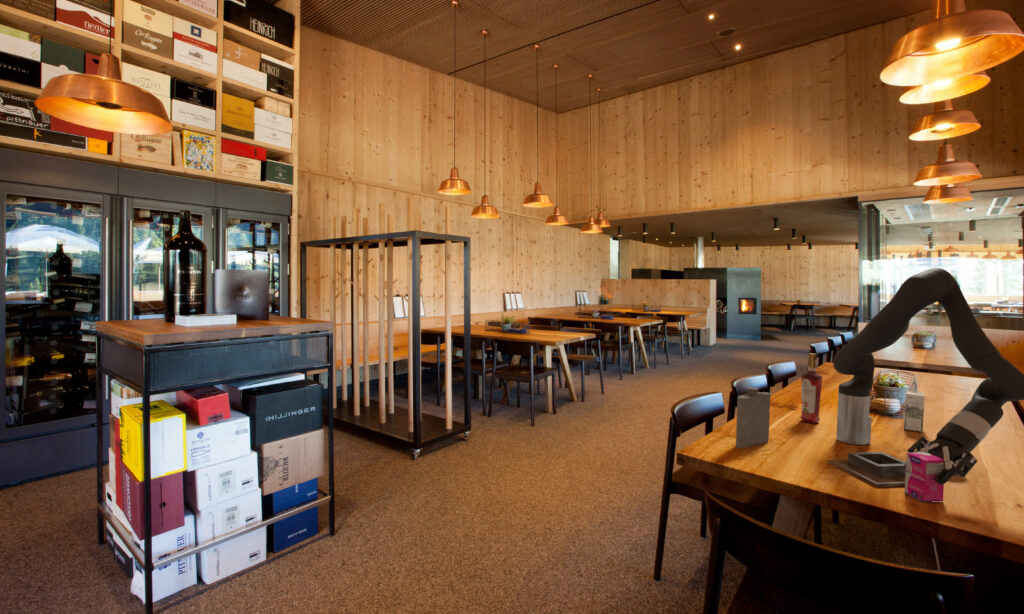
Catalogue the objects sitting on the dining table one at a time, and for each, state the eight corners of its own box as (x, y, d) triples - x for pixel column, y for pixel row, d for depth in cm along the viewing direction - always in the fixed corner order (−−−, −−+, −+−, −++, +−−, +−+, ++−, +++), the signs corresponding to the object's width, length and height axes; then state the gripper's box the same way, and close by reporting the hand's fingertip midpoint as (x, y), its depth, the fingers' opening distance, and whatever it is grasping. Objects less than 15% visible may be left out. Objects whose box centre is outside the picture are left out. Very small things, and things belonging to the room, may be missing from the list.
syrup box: (922, 429, 188) (924, 392, 187) (922, 433, 183) (924, 395, 183) (903, 426, 192) (905, 390, 191) (903, 430, 187) (905, 393, 186)
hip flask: (742, 449, 164) (744, 391, 163) (731, 445, 168) (733, 389, 167) (770, 442, 172) (772, 386, 171) (759, 438, 176) (761, 384, 174)
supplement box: (903, 493, 131) (905, 451, 130) (923, 492, 131) (925, 451, 131) (923, 503, 125) (925, 459, 124) (944, 502, 125) (946, 459, 125)
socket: (881, 461, 154) (882, 447, 154) (935, 485, 136) (936, 469, 136) (828, 463, 152) (829, 449, 152) (876, 487, 134) (877, 471, 134)
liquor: (795, 420, 199) (798, 353, 198) (807, 418, 202) (809, 352, 201) (812, 425, 192) (815, 355, 191) (824, 423, 196) (827, 354, 194)
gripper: (929, 414, 135) (889, 456, 134) (983, 430, 121) (939, 477, 120) (945, 433, 135) (906, 474, 135) (1001, 450, 121) (957, 497, 121)
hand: (921, 475), depth 128 cm, fingers open, 8 cm apart
